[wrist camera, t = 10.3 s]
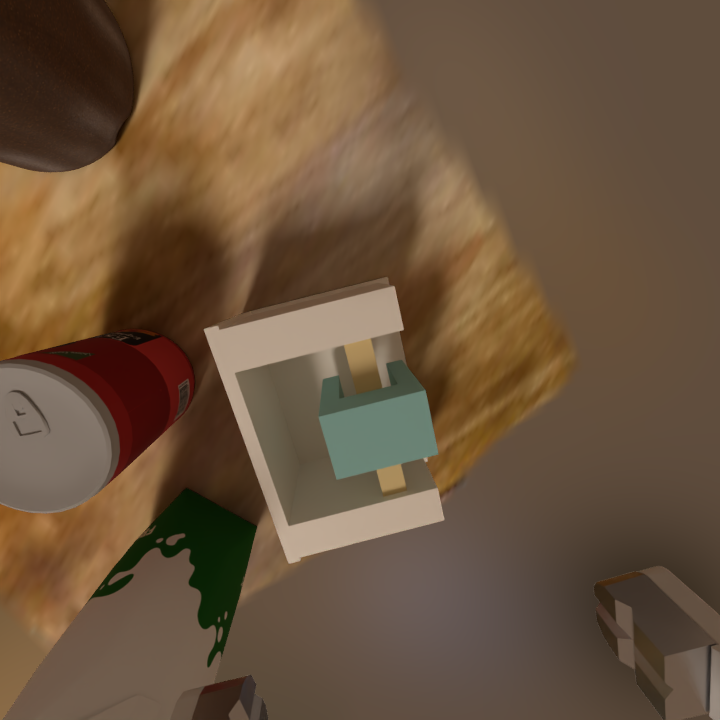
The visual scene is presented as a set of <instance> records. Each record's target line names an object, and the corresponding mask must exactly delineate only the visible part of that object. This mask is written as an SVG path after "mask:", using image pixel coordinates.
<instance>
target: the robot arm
mask: <svg viewBox="0 0 720 720" xmlns="http://www.w3.org/2000/svg"><path fill="white" fill-rule="evenodd" d="M594 595H595V597H596V598H597V599H598V600H599V602H600V603H599V605H598V607H597V608H596V617H597V622H598V625H599V627H600V630H601V632H602V634H603V636H604V638H605V640H606V641H607V643H608V645H609V647H610V648H611V649H612V651H613V652H614V654H615V655H616V656H617V658H618V659H619V660H620V661H622V662H623V663H625V664H626V665H628V666H630V667H631V668H633V669H634V670H635V675H636V683H637V685H638V686H639V688H640V689H641V690H642V692H643V693H644V694H645V696H646V697H647V699H648V700H649V701H650V703H651V704H652V705H653V707H654V708H655V709H656V711H657V712H658V713H659V715H660V716H661V717H662V719H663V720H682V719H686V718H690V717H695V716H699V715H704V714H708V713H710V715H709V716H710V717H711V718H712V719H714V720H720V615H719V614H718V613H717V612H716V611H714V610H713V609H712V608H711V607H710V606H709V605H708V604H706V603H705V602H704V601H703V600H702V599H701V598H700V597H698V596H697V595H696V594H695V593H694V592H693V591H692V590H690V589H689V588H688V587H687V586H686V585H685V584H684V583H683V582H681V581H680V580H679V579H678V578H677V577H676V576H674V575H673V574H672V573H671V572H670V571H669V570H668V569H666V568H664V567H662V566H655V567H651V568H648V569H645V570H641V571H638V572H636V571H634V572H631V573H627V574H624V575H620V576H617V577H613V578H610V579H606V580H603V581H600V582H596V583H595V585H594ZM255 689H256V683H255V681H254V679H253V677H252V676H251V675H248V676H244V677H240V678H236V679H232V680H228V681H224V682H220V683H215V684H211V685H206V686H202V687H198V688H195V689H191V690H187V691H184V692H183V693H182V695H181V696H180V698H179V699H178V700H177V702H176V705H175V708H174V710H173V713H172V716H171V718H170V720H268V715H267V710H266V705H265V703H264V701H263V699H262V698H261V697H259V696H257V695H256V694H255Z"/></svg>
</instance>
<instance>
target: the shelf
mask: <svg viewBox="0 0 720 720" xmlns="http://www.w3.org/2000/svg"><path fill="white" fill-rule="evenodd" d="M402 330H404V328H403V323H402V319H401V314H400V309H399V305H398V300H397V295H396V291H395V286H393V285H389V280H388V277H384V278H380V279H376V280H372V281H368V282H364V283H360V284H356V285H352V286H348V287H344V288H340V289H336V290H332V291H328V292H324V293H320V294H316V295H312V296H308V297H305V298H301V299H297V300H293V301H289V302H285V303H281V304H277V305H273V306H269V307H265V308H261V309H257V310H253V311H249V312H245V313H241V314H239V315H237V316H234V317H232V318H229V319H227V320H225V321H222V322H220V323H217V324H215V325H212V326H210V327H208V328H205V329H204V332H205V335H206V337H207V340H208V343H209V346H210V348H211V351H212V354H213V357H214V359H215V362H216V365H217V368H218V370H219V373H220V376H221V379H222V381H223V384H224V387H225V390H226V392H227V395H228V398H229V401H230V403H231V406H232V409H233V412H234V414H235V417H236V420H237V423H238V425H239V428H240V431H241V434H242V436H243V439H244V442H245V445H246V447H247V450H248V453H249V456H250V458H251V461H252V464H253V467H254V469H255V472H256V475H257V478H258V480H259V483H260V486H261V489H262V492H263V494H264V497H265V500H266V503H267V505H268V508H269V511H270V514H271V516H272V519H273V522H274V525H275V527H276V530H277V533H278V536H279V538H280V541H281V544H282V547H283V549H284V552H285V555H286V558H287V560H288V563H289V564H290V563H294V562H297V561H301V557H304V556H308V555H312V554H316V553H319V552H323V551H327V550H331V549H335V548H339V547H343V546H347V545H350V544H354V543H358V542H362V541H366V540H369V539H373V538H377V537H381V536H385V535H389V534H393V533H397V532H401V531H404V530H408V529H412V528H416V527H420V526H424V525H427V524H432V523H435V522H439V521H443V520H444V516H443V511H442V507H441V502H440V497H439V492H438V488H437V486H436V484H435V482H434V480H433V477H432V475H431V473H430V471H429V469H428V467H427V465H426V463H425V462H427V457H426V458H422V459H418V460H414V461H410V462H406V463H402V464H398V465H394V466H390V467H386V468H382V469H378V470H374V471H370V472H366V473H362V474H358V475H354V476H350V477H346V478H342V479H338V480H337V479H336V476H335V472H334V469H333V466H332V462H331V459H330V455H329V452H328V448H327V445H326V441H325V438H324V435H323V431H322V428H321V424H320V421H319V417H318V416H319V408H320V399H321V391H322V382H323V379H325V378H329V377H333V376H337V375H339V378H340V382H341V386H342V390H343V393H344V397H348V396H352V395H356V394H360V393H364V392H368V391H372V390H376V389H380V388H384V387H388V386H391V384H390V379H389V375H388V371H387V366H386V363H390V362H394V361H398V360H402V361H403V362H404V363H405V365H406V366H407V364H406V359H405V354H404V350H403V345H402V341H401V336H400V331H402Z"/></svg>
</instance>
